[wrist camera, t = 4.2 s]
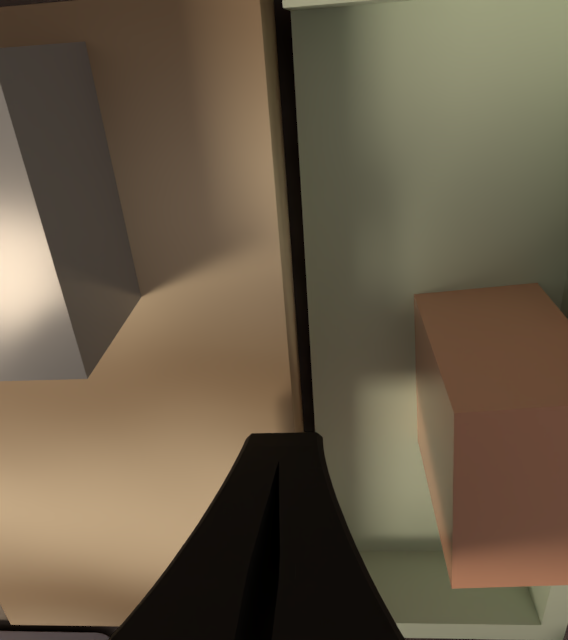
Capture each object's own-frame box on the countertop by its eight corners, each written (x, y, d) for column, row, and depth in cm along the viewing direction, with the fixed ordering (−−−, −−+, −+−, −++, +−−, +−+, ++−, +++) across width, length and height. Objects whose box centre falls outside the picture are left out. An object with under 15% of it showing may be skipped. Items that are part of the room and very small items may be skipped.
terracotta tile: (417, 440, 13) (523, 433, 13) (451, 589, 10) (597, 584, 10) (413, 294, 11) (537, 282, 11) (454, 413, 8) (634, 400, 8)
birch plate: (312, 546, 16) (310, 629, 14) (51, 546, 17) (10, 624, 15) (273, -7, 9) (258, -17, 7) (-157, 30, 10) (-290, 32, 8)
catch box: (529, 554, 16) (563, 640, 13) (322, 552, 16) (323, 636, 14) (657, -64, 9) (771, -92, 6) (289, -30, 9) (279, -46, 7)
